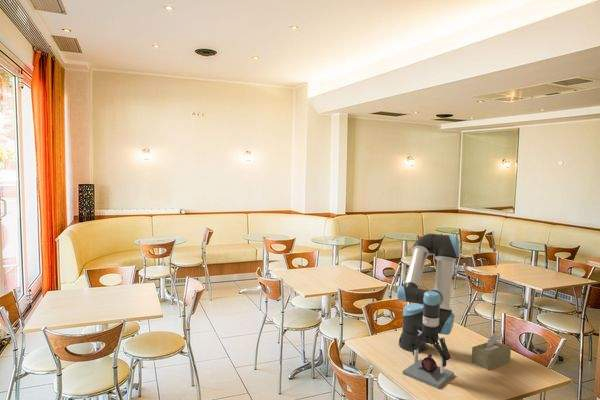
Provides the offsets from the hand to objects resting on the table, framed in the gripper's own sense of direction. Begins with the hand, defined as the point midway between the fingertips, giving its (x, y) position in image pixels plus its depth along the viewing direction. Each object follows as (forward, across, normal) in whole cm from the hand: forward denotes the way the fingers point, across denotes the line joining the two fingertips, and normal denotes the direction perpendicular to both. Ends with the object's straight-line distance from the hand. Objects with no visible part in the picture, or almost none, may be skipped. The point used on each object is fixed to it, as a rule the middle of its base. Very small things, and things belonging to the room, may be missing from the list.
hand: (428, 367), depth 193 cm
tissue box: (+4, +16, +36) cm, 40 cm away
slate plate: (+4, 0, 0) cm, 4 cm away
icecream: (+2, 0, +1) cm, 3 cm away
